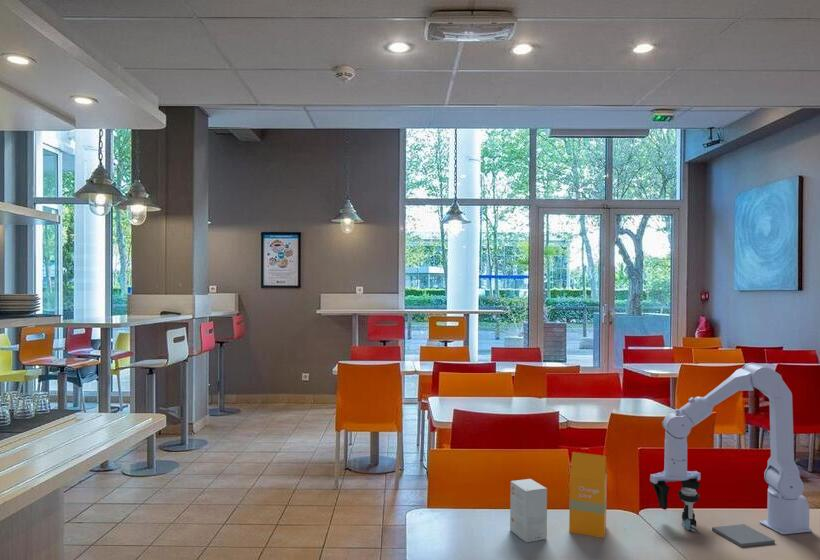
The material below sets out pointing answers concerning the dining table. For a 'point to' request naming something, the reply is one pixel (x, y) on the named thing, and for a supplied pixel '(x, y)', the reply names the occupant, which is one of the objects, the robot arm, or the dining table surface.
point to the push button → (688, 507)
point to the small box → (528, 510)
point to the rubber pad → (743, 535)
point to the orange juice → (588, 494)
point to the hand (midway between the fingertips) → (675, 507)
